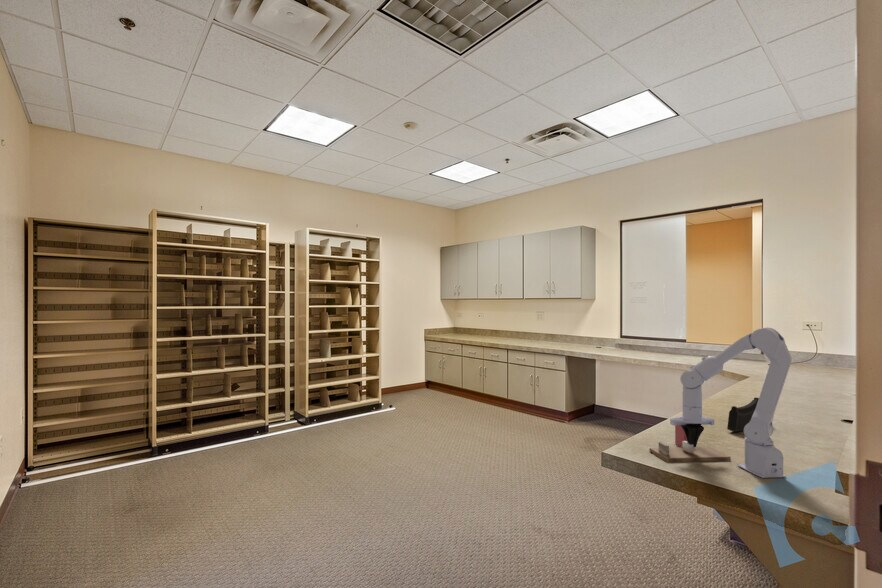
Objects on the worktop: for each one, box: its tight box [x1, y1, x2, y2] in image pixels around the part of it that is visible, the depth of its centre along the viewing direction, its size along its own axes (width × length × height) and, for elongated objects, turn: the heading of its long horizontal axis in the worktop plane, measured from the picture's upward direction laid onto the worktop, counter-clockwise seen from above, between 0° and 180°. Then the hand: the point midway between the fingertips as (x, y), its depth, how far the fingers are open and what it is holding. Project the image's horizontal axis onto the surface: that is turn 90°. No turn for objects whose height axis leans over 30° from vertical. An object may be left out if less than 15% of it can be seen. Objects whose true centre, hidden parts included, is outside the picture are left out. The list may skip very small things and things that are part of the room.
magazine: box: [727, 397, 759, 432], centre depth 180 cm, size 17×3×30 cm
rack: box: [649, 441, 732, 463], centre depth 146 cm, size 22×10×4 cm, turn 95°
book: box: [674, 425, 688, 447], centre depth 156 cm, size 5×3×8 cm, turn 6°
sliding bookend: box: [682, 441, 694, 454], centre depth 146 cm, size 1×4×3 cm, turn 5°
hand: (692, 446), depth 146 cm, fingers closed
